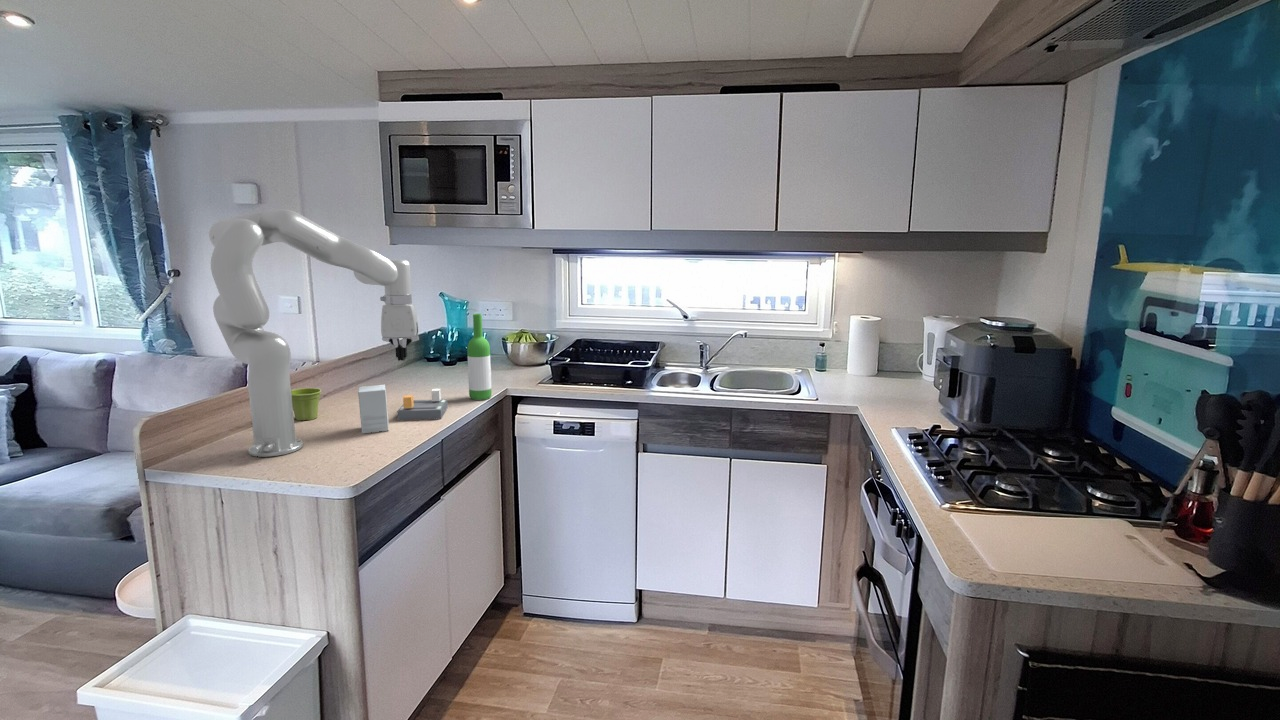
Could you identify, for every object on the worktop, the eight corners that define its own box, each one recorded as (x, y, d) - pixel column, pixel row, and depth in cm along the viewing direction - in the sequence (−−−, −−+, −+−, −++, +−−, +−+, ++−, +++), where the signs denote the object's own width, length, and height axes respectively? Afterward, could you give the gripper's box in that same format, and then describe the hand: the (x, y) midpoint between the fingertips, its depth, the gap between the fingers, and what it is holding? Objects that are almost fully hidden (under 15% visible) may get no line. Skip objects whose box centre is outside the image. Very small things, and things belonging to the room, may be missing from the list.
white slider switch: (439, 401, 203) (438, 390, 202) (431, 401, 202) (431, 390, 202) (441, 398, 205) (440, 388, 205) (433, 399, 205) (432, 388, 204)
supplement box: (388, 424, 189) (386, 384, 186) (388, 431, 182) (385, 389, 180) (362, 426, 186) (359, 385, 184) (361, 434, 179) (357, 391, 177)
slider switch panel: (441, 419, 195) (440, 409, 194) (397, 420, 193) (397, 410, 192) (447, 408, 207) (447, 399, 207) (407, 409, 206) (406, 400, 205)
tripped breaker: (411, 408, 194) (411, 397, 193) (403, 408, 193) (403, 397, 193) (413, 405, 197) (413, 395, 196) (405, 405, 196) (405, 395, 196)
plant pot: (307, 412, 200) (304, 386, 198) (330, 415, 197) (328, 389, 195) (282, 420, 191) (279, 393, 190) (306, 423, 188) (304, 396, 187)
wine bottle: (469, 401, 216) (466, 315, 210) (468, 396, 223) (465, 313, 218) (492, 399, 219) (489, 315, 213) (490, 394, 226) (487, 312, 220)
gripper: (369, 301, 184) (372, 362, 187) (421, 301, 186) (424, 361, 189) (376, 299, 191) (380, 357, 195) (426, 299, 193) (429, 357, 196)
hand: (401, 359), depth 192 cm, fingers closed
